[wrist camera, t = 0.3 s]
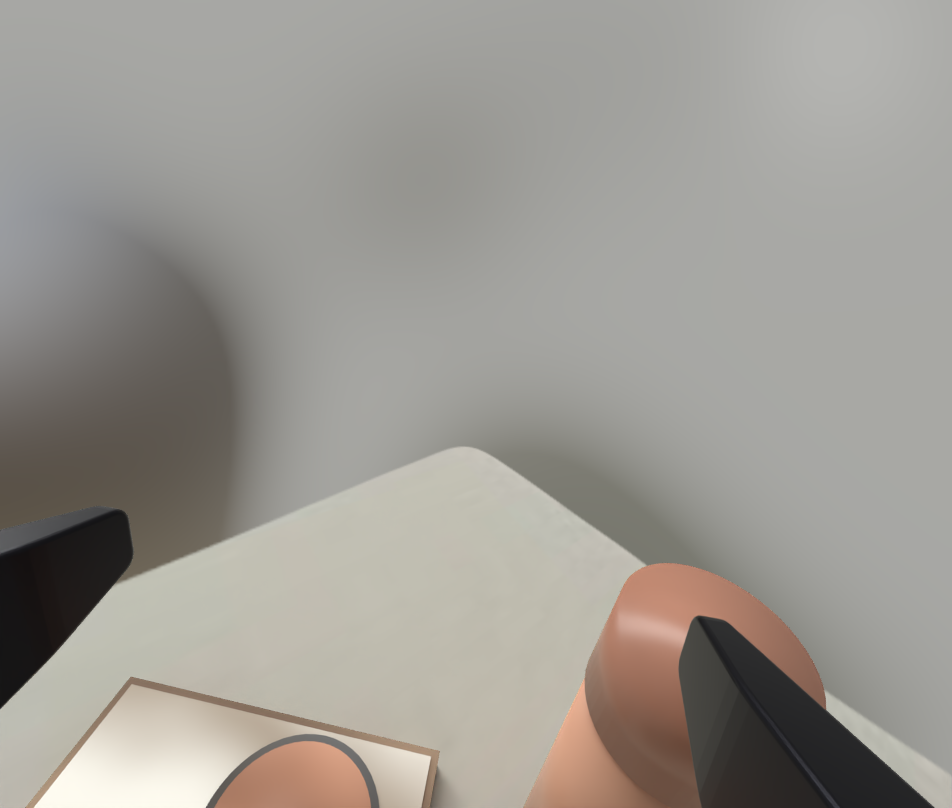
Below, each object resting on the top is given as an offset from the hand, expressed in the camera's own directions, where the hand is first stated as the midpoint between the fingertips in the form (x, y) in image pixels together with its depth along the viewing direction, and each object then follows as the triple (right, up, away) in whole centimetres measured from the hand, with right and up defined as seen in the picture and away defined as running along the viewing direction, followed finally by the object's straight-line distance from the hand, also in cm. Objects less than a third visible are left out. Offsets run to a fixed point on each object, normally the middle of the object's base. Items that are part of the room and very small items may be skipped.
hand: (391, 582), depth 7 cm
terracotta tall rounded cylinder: (+5, -14, +10) cm, 18 cm away
